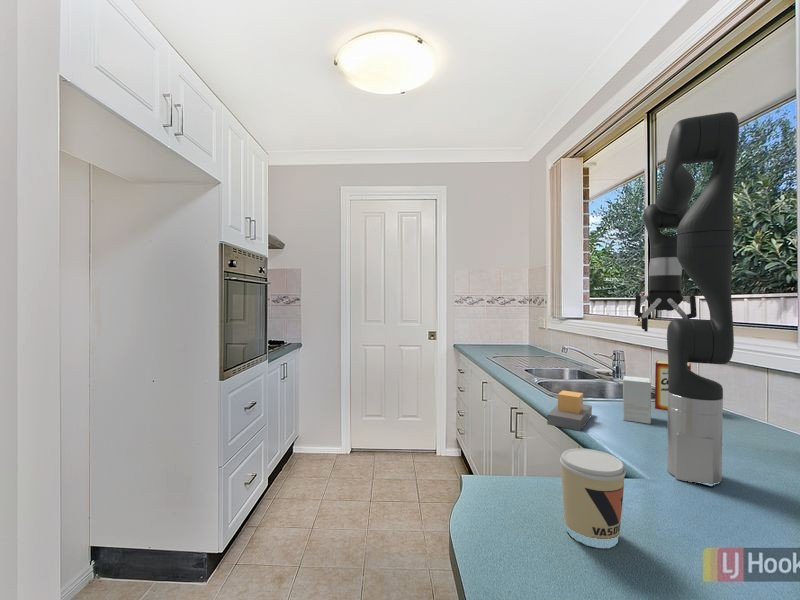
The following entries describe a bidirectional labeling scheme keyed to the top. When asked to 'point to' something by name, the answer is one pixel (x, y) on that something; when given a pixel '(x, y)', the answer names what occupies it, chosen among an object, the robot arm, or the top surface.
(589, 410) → the board
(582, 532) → the coffee cup
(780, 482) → the top surface
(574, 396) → the orange kitchen sponge
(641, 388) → the supplement box
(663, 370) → the baking soda box
